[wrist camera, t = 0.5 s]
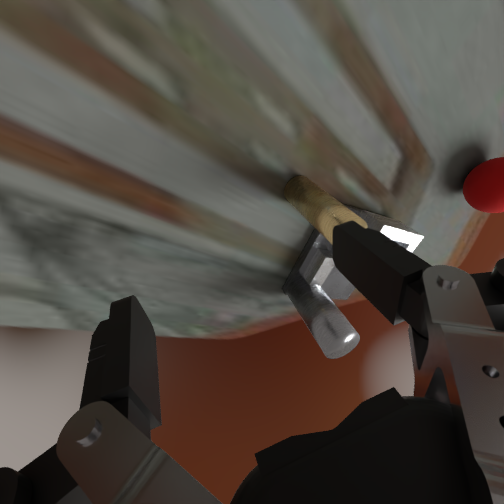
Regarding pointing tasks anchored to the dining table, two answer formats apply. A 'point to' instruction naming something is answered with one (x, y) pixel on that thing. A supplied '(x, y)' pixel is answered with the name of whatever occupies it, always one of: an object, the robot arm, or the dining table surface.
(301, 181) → the gold cylinder
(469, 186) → the christmas ornament
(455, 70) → the dining table surface
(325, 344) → the grey desk organizer
